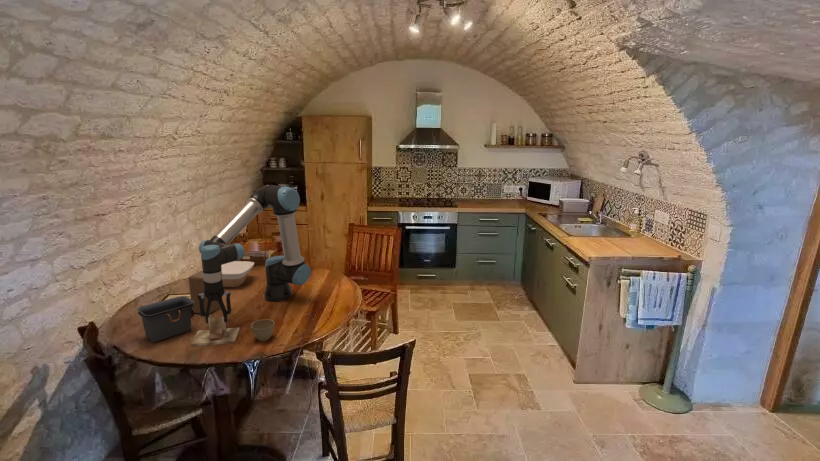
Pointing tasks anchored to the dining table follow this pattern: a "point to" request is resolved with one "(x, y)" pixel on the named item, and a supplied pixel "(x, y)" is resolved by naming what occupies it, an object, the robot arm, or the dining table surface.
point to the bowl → (235, 273)
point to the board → (204, 339)
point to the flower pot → (263, 329)
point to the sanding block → (216, 329)
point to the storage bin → (166, 317)
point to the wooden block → (198, 288)
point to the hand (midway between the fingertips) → (217, 328)
